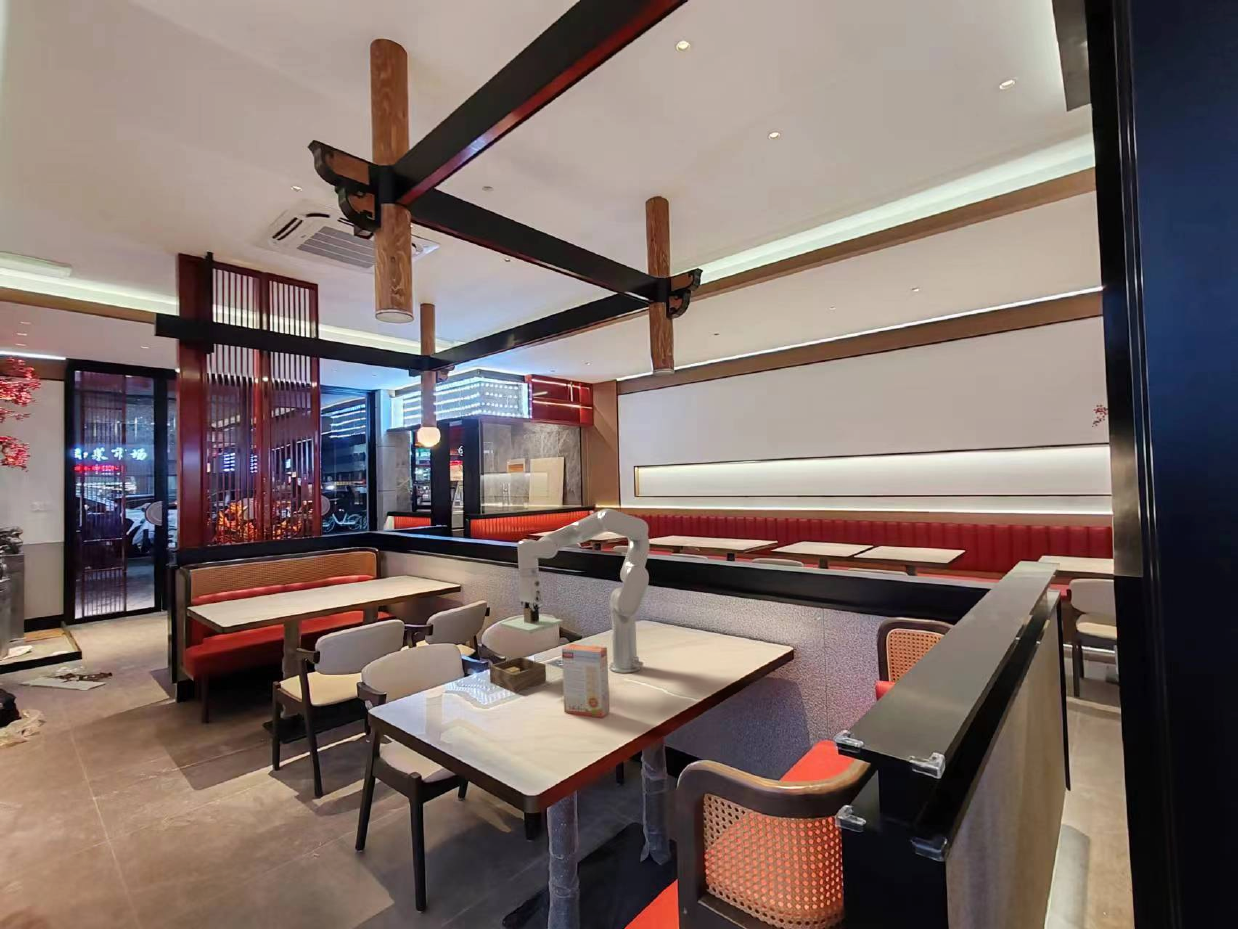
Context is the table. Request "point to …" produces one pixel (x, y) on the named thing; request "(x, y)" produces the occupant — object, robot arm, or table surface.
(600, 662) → the cracker box
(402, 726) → the table surface
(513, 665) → the crate
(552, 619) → the lid
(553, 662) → the mat
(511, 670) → the ochre block
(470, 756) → the table surface
